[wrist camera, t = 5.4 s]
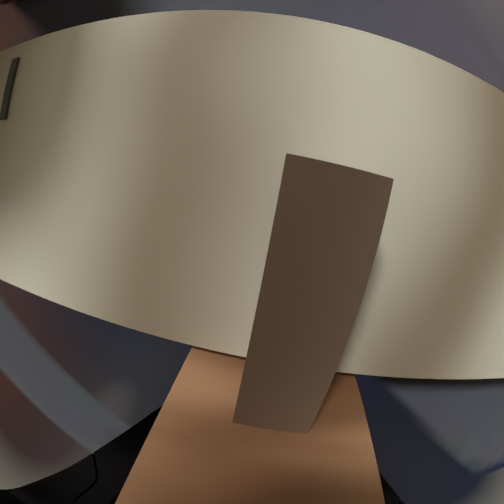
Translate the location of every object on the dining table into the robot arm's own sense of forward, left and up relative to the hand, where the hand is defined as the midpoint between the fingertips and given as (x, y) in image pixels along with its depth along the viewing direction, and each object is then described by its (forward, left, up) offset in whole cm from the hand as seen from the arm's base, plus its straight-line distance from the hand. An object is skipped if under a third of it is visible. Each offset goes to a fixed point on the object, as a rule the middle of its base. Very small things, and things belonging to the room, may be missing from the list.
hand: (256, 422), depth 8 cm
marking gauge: (0, -2, -1) cm, 3 cm away
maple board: (+2, -6, -1) cm, 7 cm away
